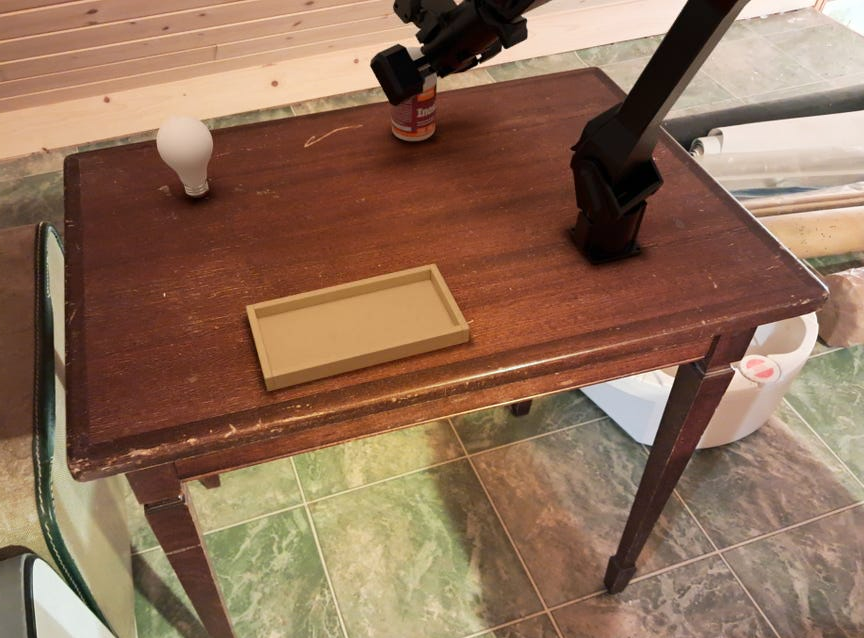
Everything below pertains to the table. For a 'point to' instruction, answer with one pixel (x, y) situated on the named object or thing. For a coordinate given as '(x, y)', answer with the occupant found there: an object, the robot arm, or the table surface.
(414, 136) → the pill bottle
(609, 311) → the table surface
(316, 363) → the tray
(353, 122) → the table surface
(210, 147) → the light bulb
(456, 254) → the table surface
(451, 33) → the robot arm
